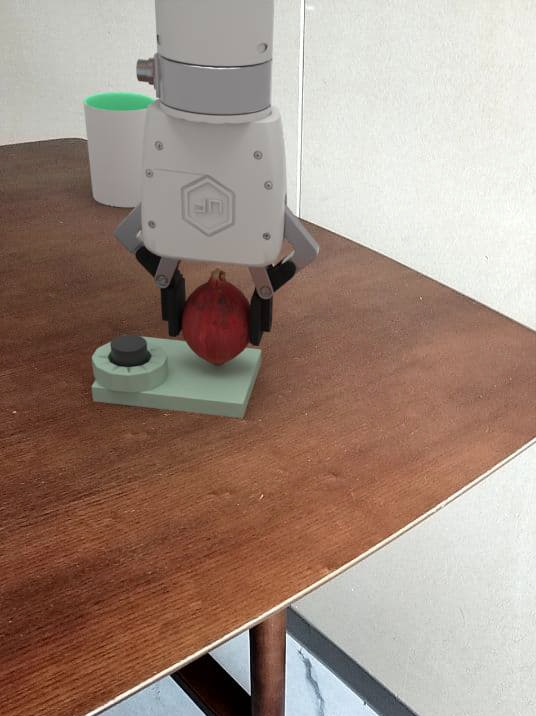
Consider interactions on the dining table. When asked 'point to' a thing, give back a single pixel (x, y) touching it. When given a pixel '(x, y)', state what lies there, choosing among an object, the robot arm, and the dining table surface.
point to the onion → (216, 320)
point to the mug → (116, 145)
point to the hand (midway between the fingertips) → (217, 331)
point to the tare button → (129, 351)
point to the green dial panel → (177, 380)
